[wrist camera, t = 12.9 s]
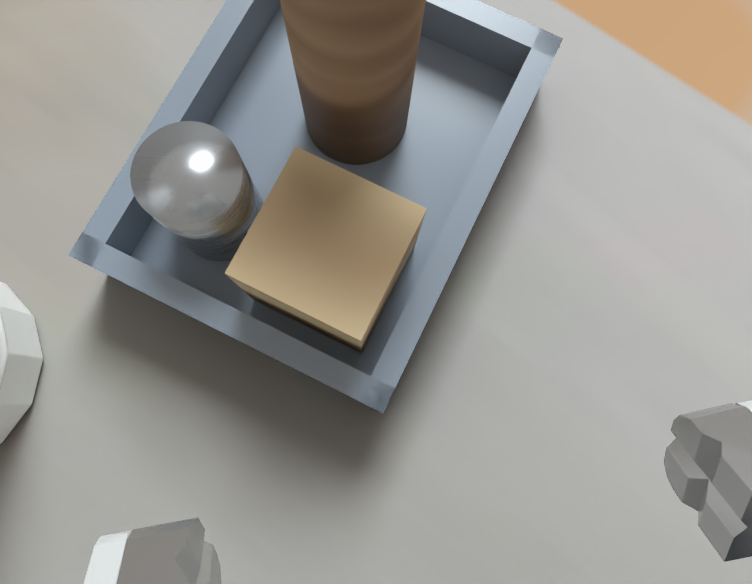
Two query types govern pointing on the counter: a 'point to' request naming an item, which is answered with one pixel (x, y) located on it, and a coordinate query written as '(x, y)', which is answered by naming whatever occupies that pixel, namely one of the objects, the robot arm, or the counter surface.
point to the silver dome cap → (196, 187)
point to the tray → (394, 172)
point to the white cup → (16, 360)
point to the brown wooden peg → (354, 72)
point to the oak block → (327, 248)
